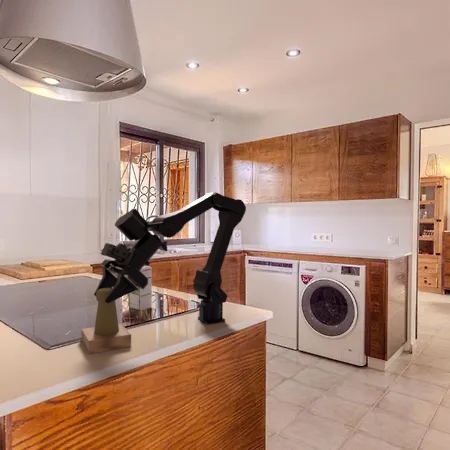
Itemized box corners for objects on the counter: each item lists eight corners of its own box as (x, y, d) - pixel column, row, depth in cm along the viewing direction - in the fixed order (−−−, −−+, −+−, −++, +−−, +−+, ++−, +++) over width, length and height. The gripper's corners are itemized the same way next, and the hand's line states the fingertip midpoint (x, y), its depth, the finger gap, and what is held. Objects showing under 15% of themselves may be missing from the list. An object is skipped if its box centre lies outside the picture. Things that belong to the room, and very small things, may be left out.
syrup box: (152, 307, 124) (152, 266, 124) (139, 311, 119) (140, 268, 119) (140, 304, 127) (141, 264, 127) (128, 308, 122) (128, 266, 122)
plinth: (120, 334, 97) (120, 323, 97) (131, 346, 88) (131, 334, 88) (81, 340, 92) (81, 328, 92) (88, 353, 83) (88, 341, 83)
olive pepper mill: (119, 333, 88) (120, 290, 88) (94, 336, 86) (94, 291, 86) (118, 326, 94) (118, 285, 94) (94, 328, 92) (94, 286, 91)
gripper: (108, 230, 99) (66, 273, 92) (136, 234, 84) (89, 285, 78) (134, 256, 104) (96, 298, 97) (165, 264, 89) (123, 315, 83)
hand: (100, 299), depth 89 cm, fingers open, 7 cm apart
